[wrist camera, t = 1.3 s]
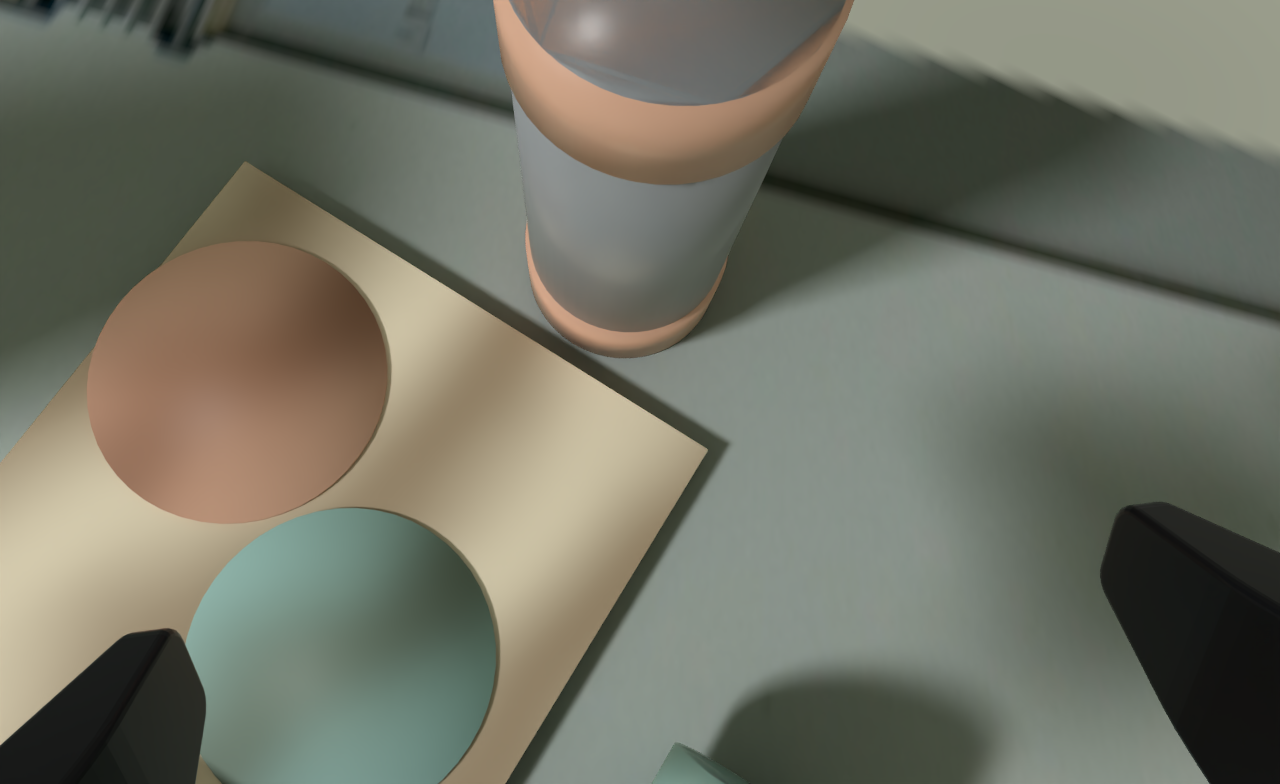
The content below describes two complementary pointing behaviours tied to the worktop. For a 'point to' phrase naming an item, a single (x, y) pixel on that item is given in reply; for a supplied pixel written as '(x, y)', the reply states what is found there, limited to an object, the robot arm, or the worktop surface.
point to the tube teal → (693, 769)
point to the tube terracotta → (649, 148)
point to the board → (326, 506)
